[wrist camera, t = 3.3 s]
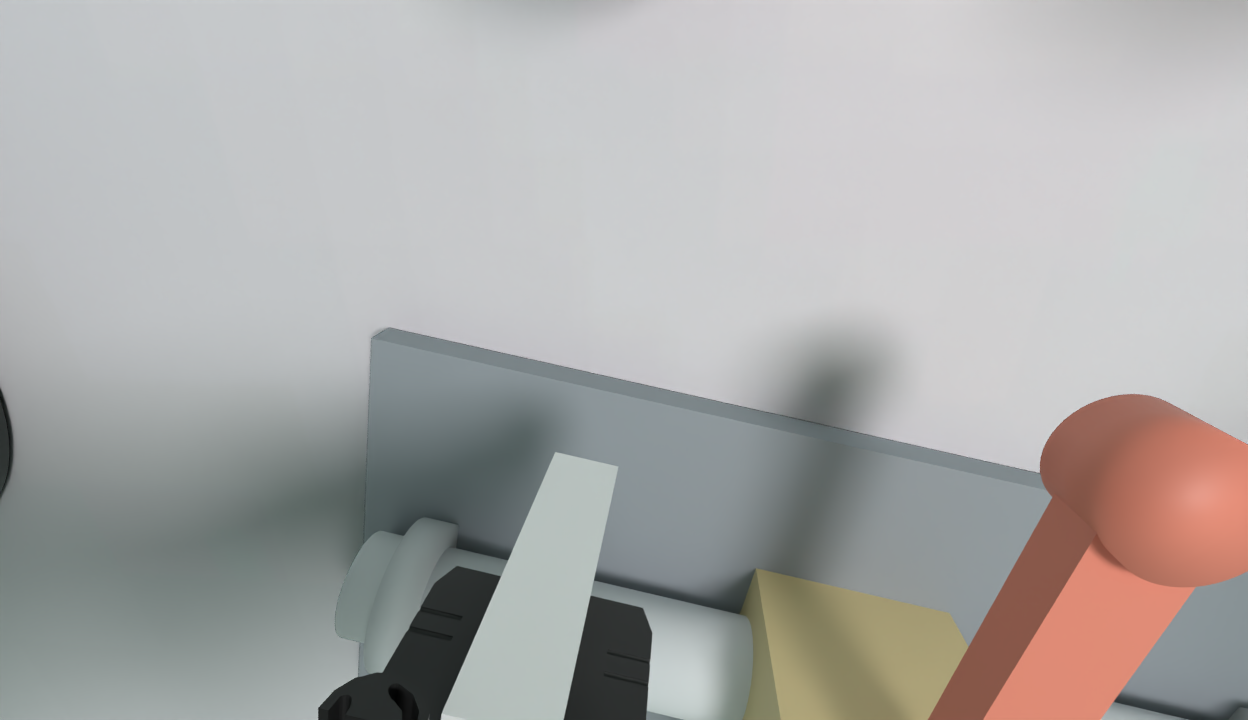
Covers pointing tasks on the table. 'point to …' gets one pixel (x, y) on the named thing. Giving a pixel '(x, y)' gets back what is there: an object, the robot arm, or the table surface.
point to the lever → (1106, 561)
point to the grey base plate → (730, 541)
